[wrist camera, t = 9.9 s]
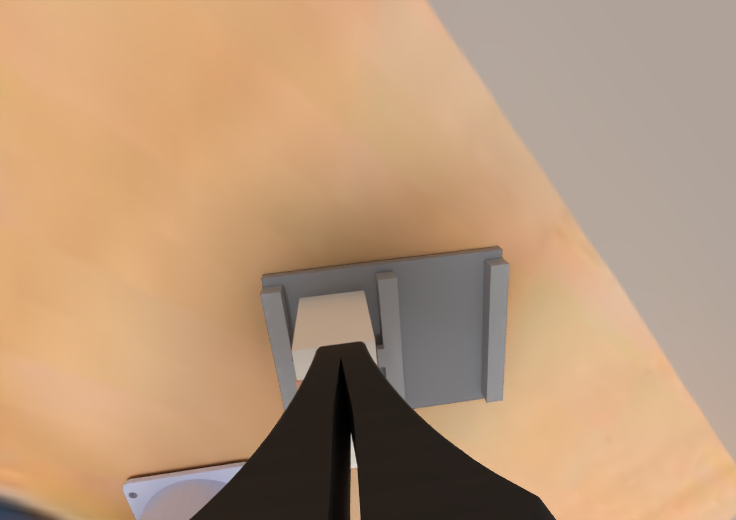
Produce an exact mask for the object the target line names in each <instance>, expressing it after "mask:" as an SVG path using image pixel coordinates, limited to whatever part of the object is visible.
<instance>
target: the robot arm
mask: <svg viewBox="0 0 736 520" xmlns="http://www.w3.org/2000/svg"><path fill="white" fill-rule="evenodd" d="M351 435H352V441H353V446H354V451H355V457H356V462H357V468H358V483H359V498H360V514H361V520H556V519H555V518H554V516H553V515H552V514H551V512H550V511H549V510H548V508H547V507H546V506H545V504H544V503H543V502H542V500H541V499H540V498H539V497H538V496H536V495H534V494H532V493H531V492H529V491H527V490H525V489H523V488H521V487H520V486H518V485H516V484H514V483H512V482H510V481H509V480H507V479H505V478H503V477H501V476H499V475H498V474H496V473H494V472H493V471H491V470H489V469H488V468H486V467H485V466H483V465H481V464H480V463H478V462H477V461H475V460H474V459H472V458H471V457H470V456H468V455H467V454H466V453H464V452H463V451H462V450H460V449H459V448H458V447H456V446H455V445H454V444H452V443H451V442H450V441H448V440H447V439H445V438H444V437H443V436H442V435H441V434H439V433H438V432H437V431H436V430H435V429H434V428H432V427H431V426H430V425H429V424H428V423H427V422H426V421H425V420H424V419H422V418H421V417H420V416H419V415H418V414H417V413H416V412H415V411H414V410H413V409H412V408H411V407H410V406H409V405H408V404H407V403H406V401H405V400H404V399H403V398H402V397H401V396H400V395H399V394H398V392H397V391H396V390H395V389H394V388H393V386H392V385H391V384H390V383H389V381H388V380H387V379H386V377H385V376H384V375H383V373H382V372H381V371H380V369H379V368H378V366H377V365H376V363H375V362H374V360H373V359H372V357H371V355H370V353H369V351H368V349H367V347H366V344H365V343H363V342H362V341H358V342H351V343H343V344H336V345H328V346H321V347H319V348H318V349H317V350H316V353H315V356H314V358H313V361H312V363H311V365H310V367H309V369H308V371H307V373H306V376H305V377H304V379H303V381H302V383H301V385H300V387H299V389H298V390H297V392H296V394H295V396H294V397H293V399H292V401H291V402H290V404H289V405H288V407H287V409H286V410H285V412H284V413H283V415H282V416H281V418H280V420H279V421H278V422H277V424H276V425H275V427H274V428H273V429H272V431H271V432H270V434H269V435H268V436H267V438H266V439H265V440H264V441H263V443H262V444H261V445H260V447H259V448H258V449H257V450H256V451H255V453H254V454H253V455H252V456H251V457H250V458H249V460H248V461H247V462H240V463H233V464H226V465H220V466H213V467H207V468H200V469H193V470H187V471H180V472H174V473H167V474H160V475H154V476H147V477H141V478H134V479H129V480H127V481H126V482H125V484H124V485H123V488H122V489H123V492H124V494H125V497H126V499H127V501H128V503H129V506H130V508H131V510H132V512H133V515H134V517H135V519H136V520H350V478H351Z"/></svg>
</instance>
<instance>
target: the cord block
mask: <svg viewBox="0 0 736 520" xmlns="http://www.w3.org/2000/svg"><path fill="white" fill-rule="evenodd" d="M358 341H362V342H363V343H365V344H366V347H367V349H368V351H369V353H370V355H371V357H372V359H373V360H374V362H375V363H376V365H377V366H378V363H377V357H376V346H375V338H374V333H373V329H372V324H371V320H370V315H369V311H368V306H367V302H366V297H365V292H364V290H362V291H354V292H346V293H337V294H329V295H321V296H313V297H304V298H299V305H298V312H297V318H296V325H295V332H294V338H293V345H292V356H293V362H294V367H295V373H296V387H297V390H298V389H299V387H300V385H301V383H302V381H303V379H304V377H305V376H306V373H307V371H308V369H309V367H310V365H311V363H312V361H313V358H314V356H315V353H316V350H317V349H318V348H319V347H321V346H328V345H336V344H343V343H351V342H358ZM352 468H357V462H356V457H355V451H354V446H353V441H352V435H351V469H352Z"/></svg>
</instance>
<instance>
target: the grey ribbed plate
mask: <svg viewBox="0 0 736 520" xmlns="http://www.w3.org/2000/svg"><path fill="white" fill-rule="evenodd" d="M261 280H262V285H263V289H262V291H261V294H260V296H261V301H262V305H263V310H264V315H265V319H266V324H267V329H268V334H269V338H270V343H271V348H272V353H273V357H274V362H275V367H276V371H277V376H278V381H279V386H280V390H281V395H282V400H283V405H284V409H285V410H286V409H287V407H288V405H289V404H290V402H291V401H292V399H293V397H294V396H295V394H296V392H297V387H296V373H295V367H294V362H293V356H292V345H293V338H294V332H295V325H296V318H297V312H298V305H299V298H304V297H313V296H321V295H329V294H337V293H346V292H354V291H362V290H364V292H365V297H366V302H367V306H368V311H369V315H370V320H371V324H372V329H373V333H374V338H375V346H376V357H377V363H378V368H379V369H380V371H381V372H382V373H383V375H384V376H385V377H386V379H387V380H388V381H389V383H390V384H391V385H392V386H393V388H394V389H395V390H396V391H397V392H398V394H399V395H400V396H401V397H402V398H403V399H404V400H405V401H406V403H407V404H408V405H409V406H410V407H411V408H412V409H416V408H422V407H429V406H436V405H443V404H450V403H456V402H463V401H470V400H477V399H484V398H485V400H486V402H494V401H501V400H503V384H504V363H505V342H506V322H507V301H508V280H509V263H508V262H506V261H505V260H504V259H503V258H502V249H501V248H500V247H490V248H482V249H473V250H465V251H457V252H449V253H440V254H432V255H424V256H415V257H407V258H399V259H390V260H382V261H374V262H365V263H357V264H349V265H340V266H332V267H324V268H315V269H307V270H299V271H290V272H282V273H274V274H266V275H262V278H261Z"/></svg>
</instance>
